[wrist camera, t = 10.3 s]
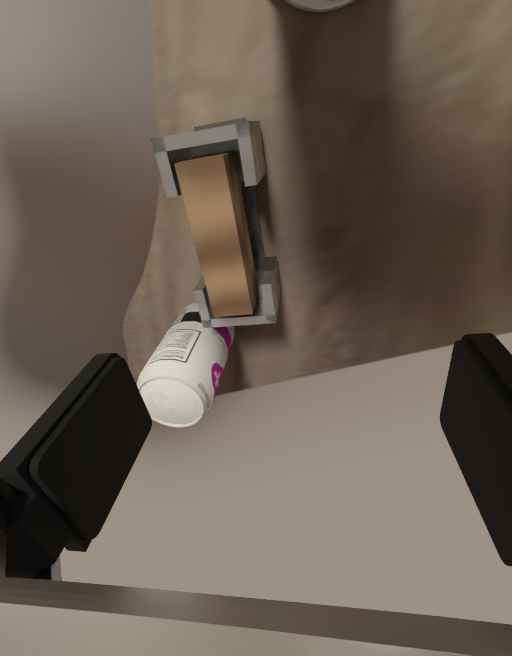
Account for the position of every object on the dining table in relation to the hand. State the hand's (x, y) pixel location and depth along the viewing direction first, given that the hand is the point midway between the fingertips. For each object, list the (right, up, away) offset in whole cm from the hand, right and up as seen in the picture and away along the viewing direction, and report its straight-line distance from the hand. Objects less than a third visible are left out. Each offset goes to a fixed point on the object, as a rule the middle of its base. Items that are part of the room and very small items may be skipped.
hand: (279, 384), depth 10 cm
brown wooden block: (-3, +11, +23) cm, 26 cm away
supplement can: (-8, +2, +36) cm, 37 cm away
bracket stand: (-3, +14, +28) cm, 31 cm away
